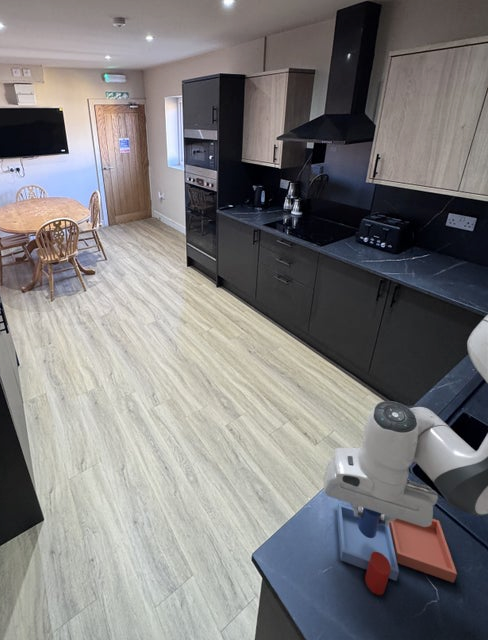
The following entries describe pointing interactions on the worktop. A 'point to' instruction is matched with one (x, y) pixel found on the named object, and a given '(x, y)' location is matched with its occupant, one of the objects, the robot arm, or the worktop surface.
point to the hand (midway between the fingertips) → (369, 517)
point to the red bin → (423, 548)
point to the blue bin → (363, 542)
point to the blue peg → (369, 522)
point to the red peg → (377, 573)
